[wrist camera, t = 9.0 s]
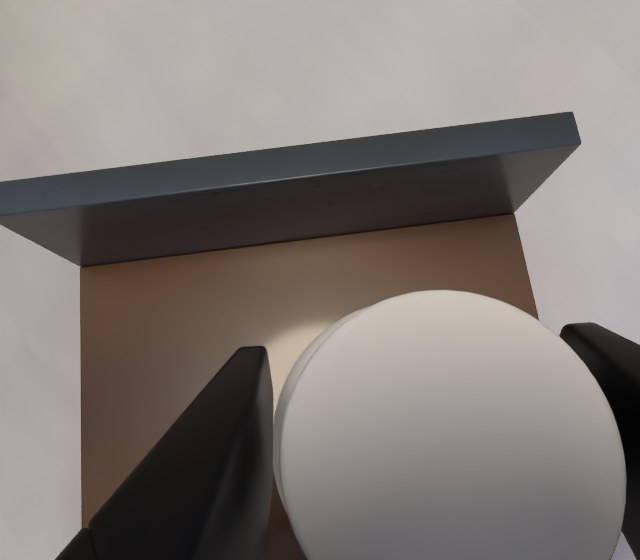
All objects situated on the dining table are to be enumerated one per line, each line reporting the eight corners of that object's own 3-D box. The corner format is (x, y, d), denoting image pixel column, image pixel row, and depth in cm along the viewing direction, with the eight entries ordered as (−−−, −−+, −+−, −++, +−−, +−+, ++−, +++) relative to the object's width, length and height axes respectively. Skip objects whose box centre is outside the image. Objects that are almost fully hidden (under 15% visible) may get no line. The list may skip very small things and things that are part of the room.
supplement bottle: (503, 447, 13) (764, 512, 5) (368, 560, 13) (427, 825, 5) (394, 310, 15) (472, 188, 6) (263, 408, 14) (164, 413, 6)
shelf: (538, 511, 19) (709, 605, 10) (132, 564, 19) (-37, 702, 10) (477, 224, 22) (573, 110, 13) (123, 268, 22) (-14, 182, 13)
